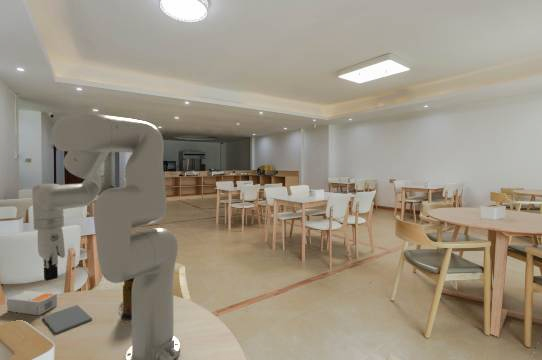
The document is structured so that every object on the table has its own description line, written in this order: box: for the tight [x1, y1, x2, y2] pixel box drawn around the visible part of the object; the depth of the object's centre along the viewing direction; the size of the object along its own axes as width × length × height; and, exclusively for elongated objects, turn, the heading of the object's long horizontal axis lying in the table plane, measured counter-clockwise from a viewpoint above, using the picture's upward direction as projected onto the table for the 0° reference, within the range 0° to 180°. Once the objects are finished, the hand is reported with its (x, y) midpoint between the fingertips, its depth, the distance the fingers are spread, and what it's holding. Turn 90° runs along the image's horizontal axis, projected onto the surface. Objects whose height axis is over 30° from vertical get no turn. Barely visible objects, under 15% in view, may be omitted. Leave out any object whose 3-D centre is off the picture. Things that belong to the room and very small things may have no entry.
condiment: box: [118, 277, 135, 323], centre depth 88 cm, size 7×8×12 cm
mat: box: [42, 304, 93, 335], centre depth 84 cm, size 12×9×1 cm
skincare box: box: [6, 290, 58, 316], centre depth 90 cm, size 6×4×12 cm
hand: (51, 278), depth 91 cm, fingers closed
